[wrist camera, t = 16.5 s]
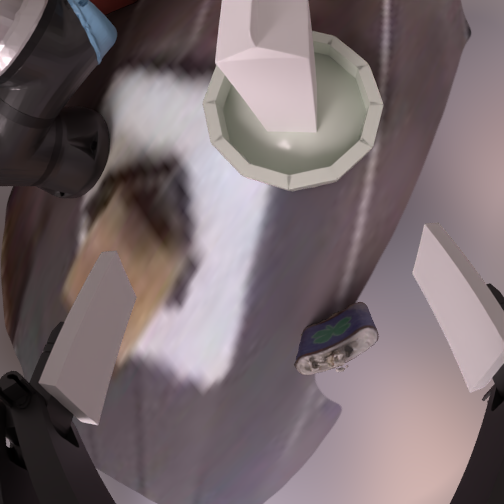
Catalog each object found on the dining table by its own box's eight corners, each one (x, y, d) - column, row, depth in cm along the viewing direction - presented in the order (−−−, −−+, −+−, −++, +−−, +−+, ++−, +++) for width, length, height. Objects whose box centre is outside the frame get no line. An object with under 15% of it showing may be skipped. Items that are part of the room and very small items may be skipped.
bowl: (187, 114, 38) (174, 106, 34) (294, 21, 33) (290, 5, 29) (290, 223, 37) (287, 225, 33) (406, 118, 32) (415, 108, 28)
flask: (362, 297, 36) (376, 329, 26) (372, 317, 36) (388, 354, 26) (297, 330, 38) (287, 371, 28) (307, 348, 38) (301, 393, 28)
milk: (317, 88, 33) (305, -38, 12) (317, 134, 34) (309, 32, 12) (267, 87, 34) (207, -29, 13) (265, 132, 35) (195, 40, 14)
